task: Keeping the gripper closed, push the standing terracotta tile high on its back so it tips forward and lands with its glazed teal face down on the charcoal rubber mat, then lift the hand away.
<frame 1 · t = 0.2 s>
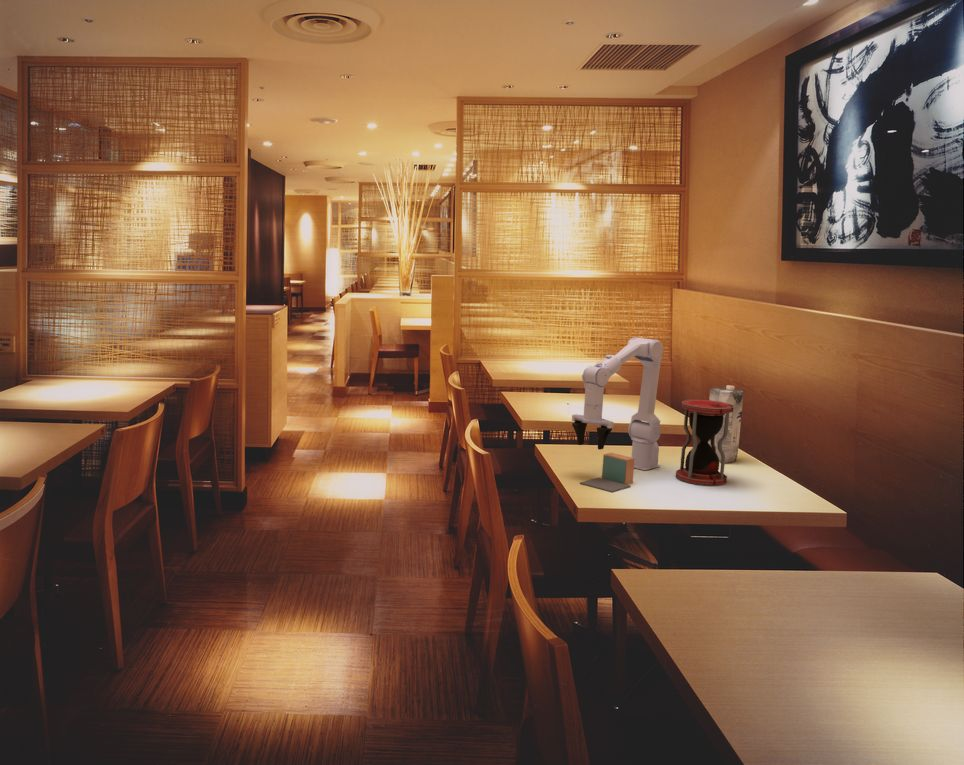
hand: (590, 446, 267), 10 cm above the table, fingers open, 7 cm apart
juice carton: (720, 460, 302), on the table
charcoal mat: (605, 485, 261), on the table
terracotta tile: (617, 480, 267), on the table
hourglass: (700, 479, 274), on the table
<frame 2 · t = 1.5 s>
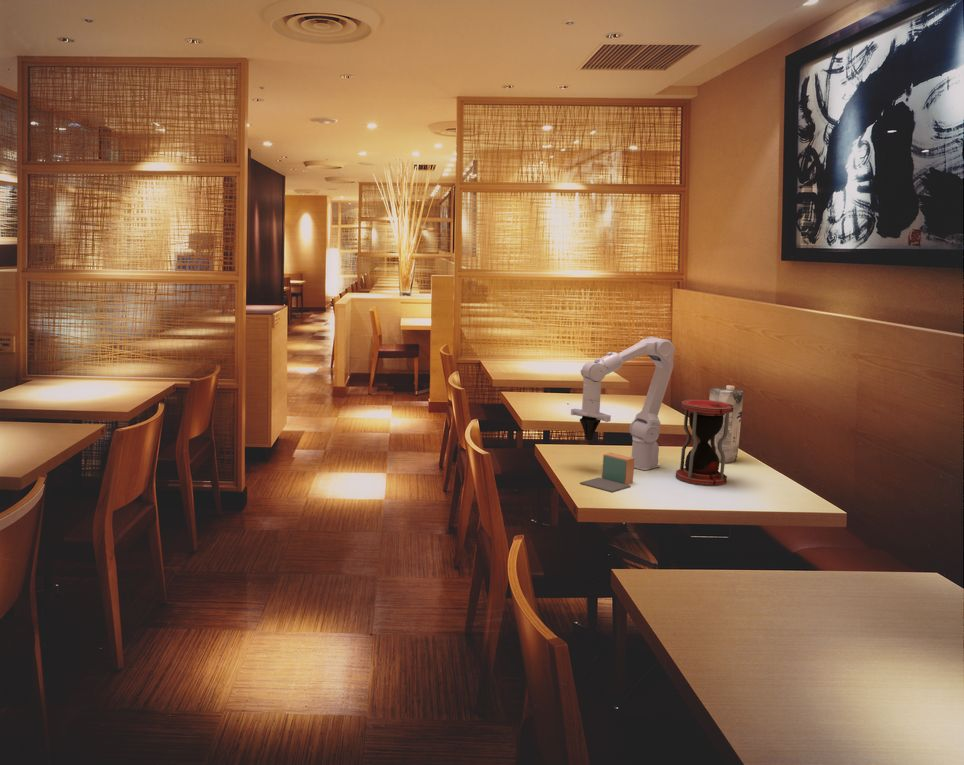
hand: (589, 439, 277), 10 cm above the table, fingers closed
nothing on the table moved.
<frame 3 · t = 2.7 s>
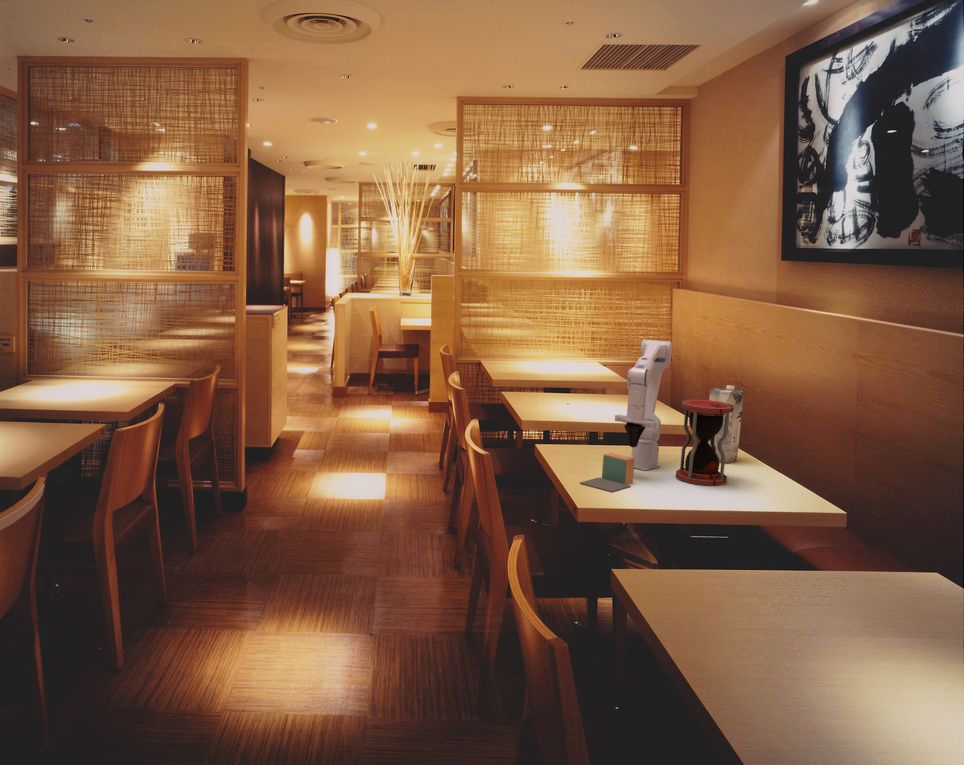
hand: (633, 446, 271), 10 cm above the table, fingers closed
nothing on the table moved.
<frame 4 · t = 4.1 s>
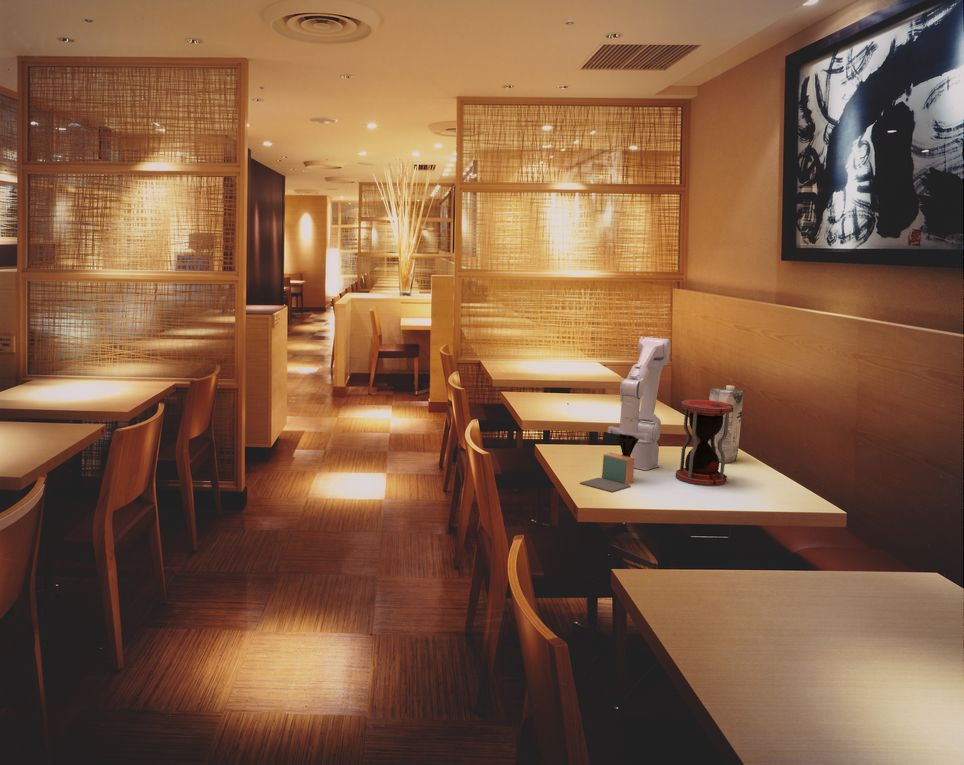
hand: (626, 458, 269), 6 cm above the table, fingers closed
nothing on the table moved.
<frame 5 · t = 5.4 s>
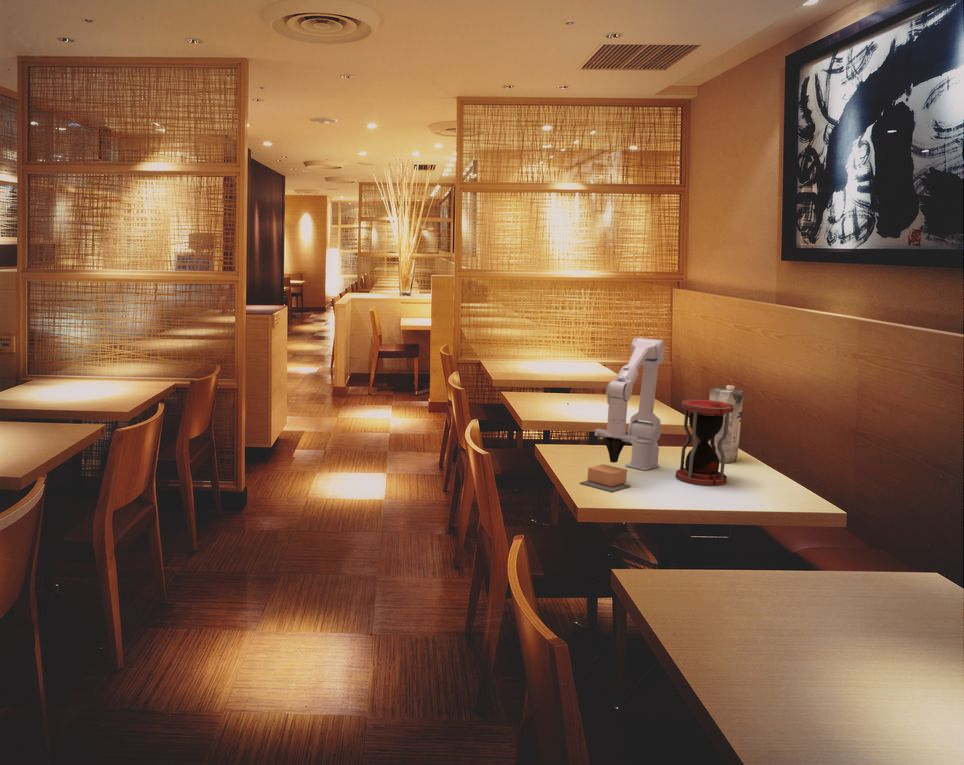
hand: (613, 461, 264), 6 cm above the table, fingers closed
terracotta tile: (614, 473, 265), point 3 cm above the table, tilted 90°, touching charcoal mat
everything else where it was.
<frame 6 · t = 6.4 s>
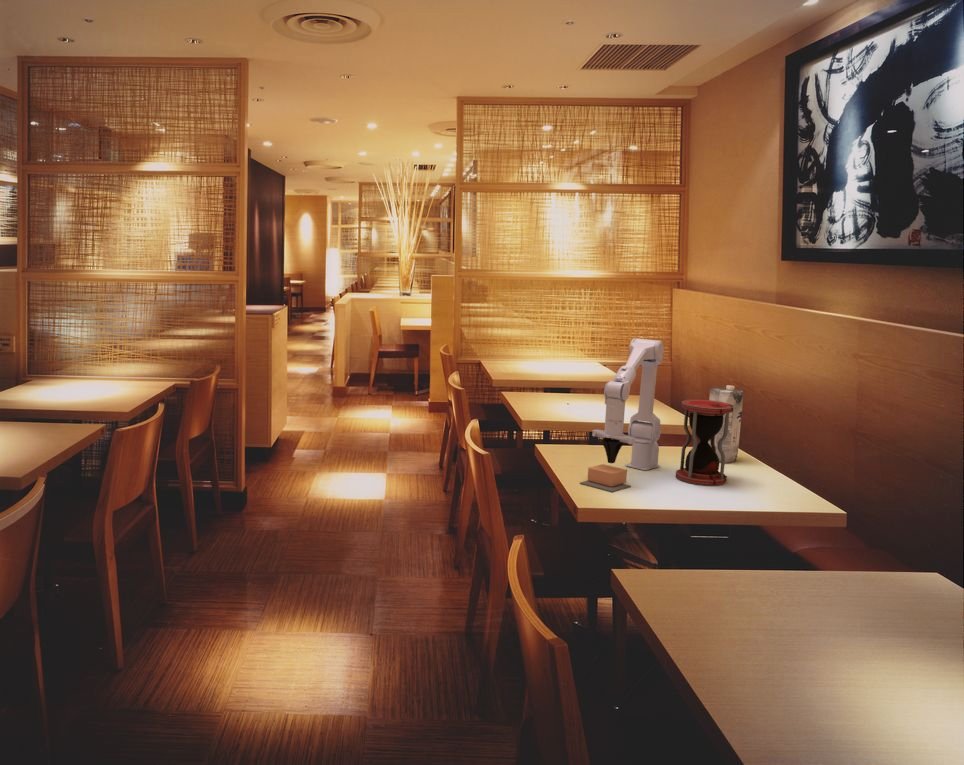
hand: (611, 462, 263), 6 cm above the table, fingers closed
nothing on the table moved.
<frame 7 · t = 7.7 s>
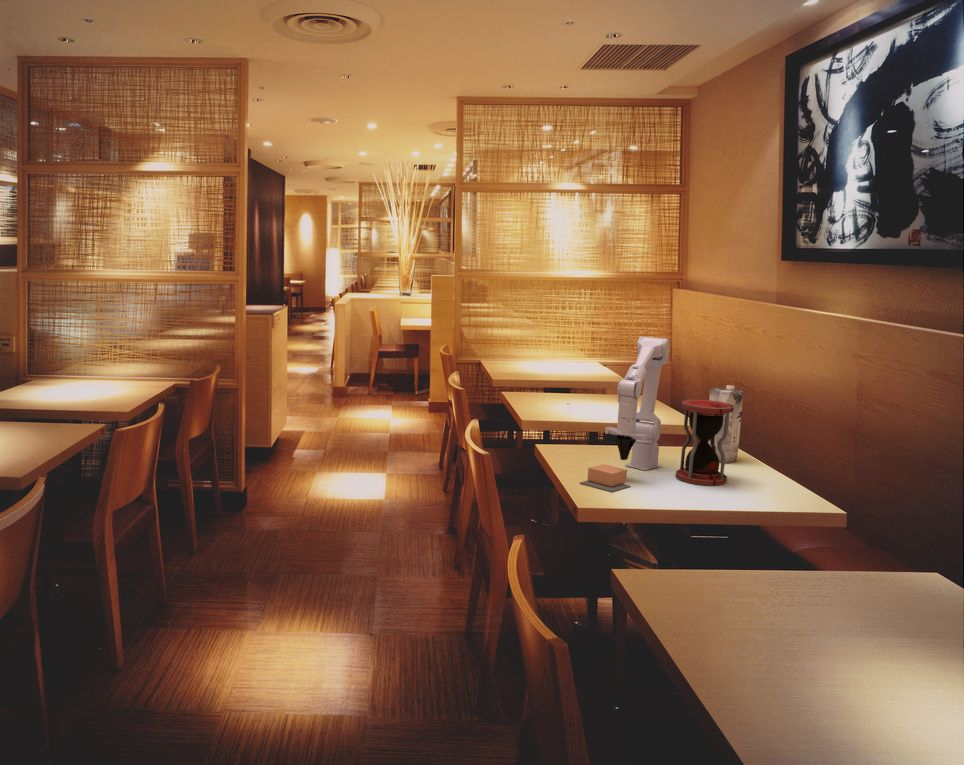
hand: (623, 459, 268), 6 cm above the table, fingers closed
nothing on the table moved.
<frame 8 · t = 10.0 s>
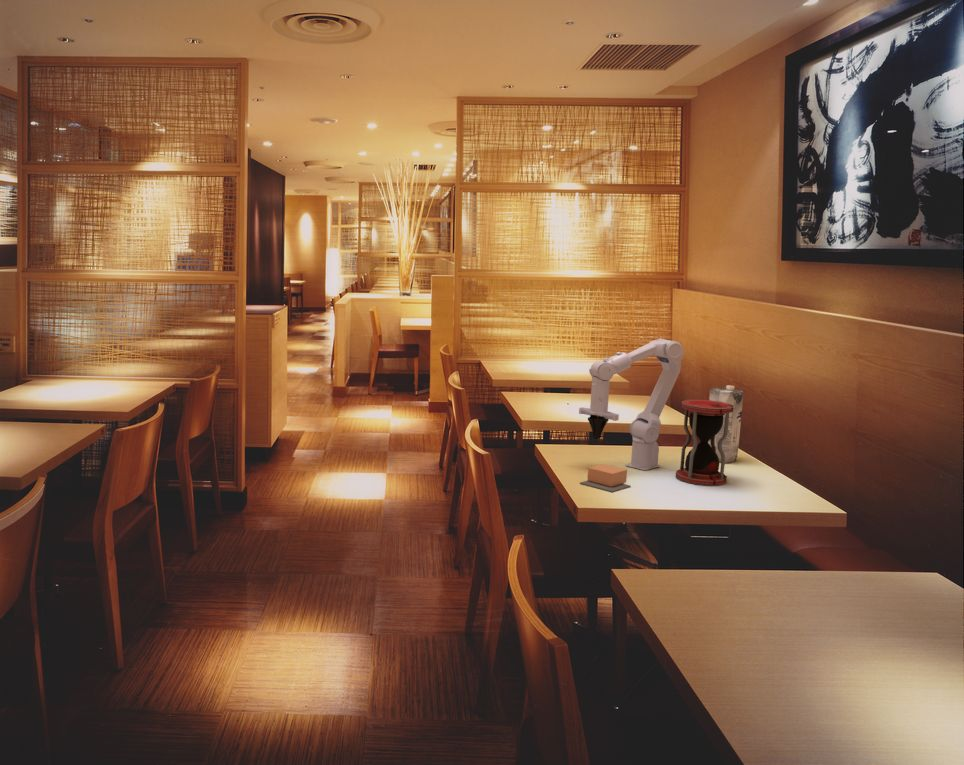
hand: (596, 438, 279), 10 cm above the table, fingers closed
nothing on the table moved.
at the end: terracotta tile tilted 90°; terracotta tile touching charcoal mat; the gripper is holding nothing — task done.
